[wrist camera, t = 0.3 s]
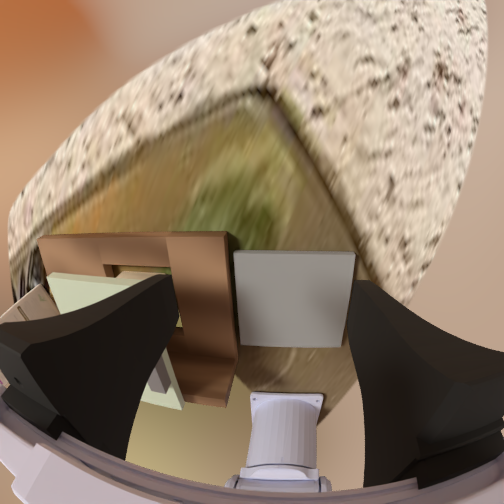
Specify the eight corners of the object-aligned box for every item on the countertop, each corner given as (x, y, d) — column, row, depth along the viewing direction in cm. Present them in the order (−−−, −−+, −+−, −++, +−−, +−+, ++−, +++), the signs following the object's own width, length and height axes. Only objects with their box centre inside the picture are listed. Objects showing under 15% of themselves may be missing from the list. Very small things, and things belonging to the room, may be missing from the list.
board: (238, 358, 25) (226, 407, 20) (77, 332, 28) (51, 361, 23) (227, 231, 20) (203, 267, 15) (44, 235, 23) (5, 257, 18)
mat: (339, 342, 23) (340, 347, 23) (241, 340, 24) (240, 344, 24) (353, 251, 20) (355, 255, 19) (235, 250, 21) (233, 253, 20)
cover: (184, 403, 20) (178, 421, 18) (101, 382, 21) (92, 396, 19) (147, 280, 15) (132, 297, 13) (53, 272, 16) (36, 284, 15)
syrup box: (40, 281, 26) (-36, 347, 13) (67, 319, 28) (-1, 394, 14) (28, 295, 28) (-37, 354, 14) (52, 329, 29) (-7, 394, 16)
